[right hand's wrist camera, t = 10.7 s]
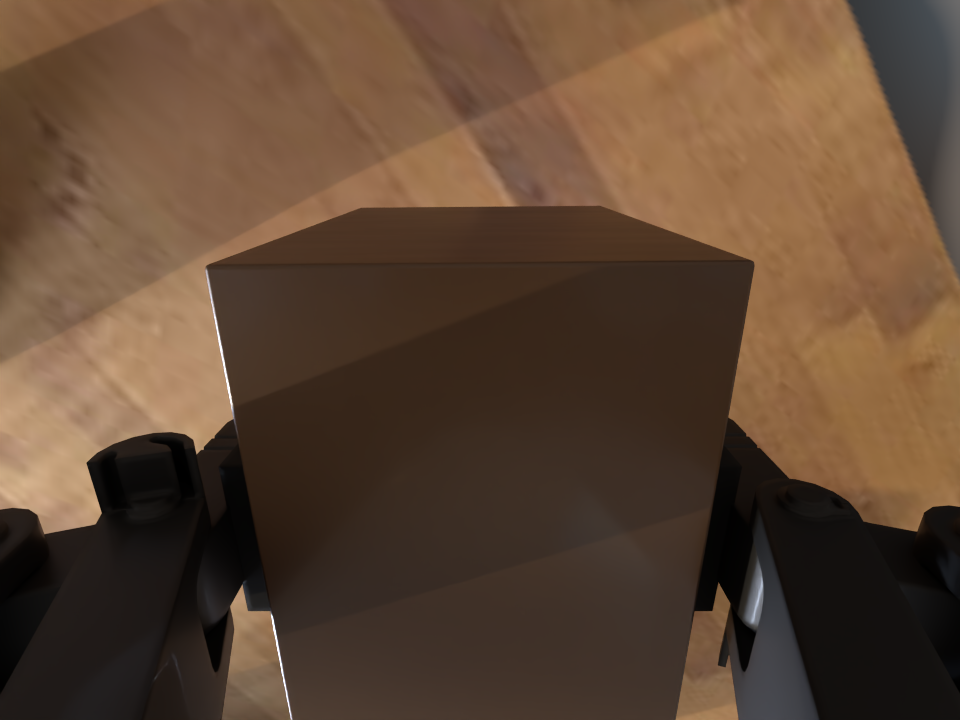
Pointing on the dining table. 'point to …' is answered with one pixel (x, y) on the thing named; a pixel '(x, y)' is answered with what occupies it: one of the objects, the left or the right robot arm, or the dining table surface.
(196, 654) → the right robot arm
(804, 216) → the dining table surface
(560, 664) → the post
